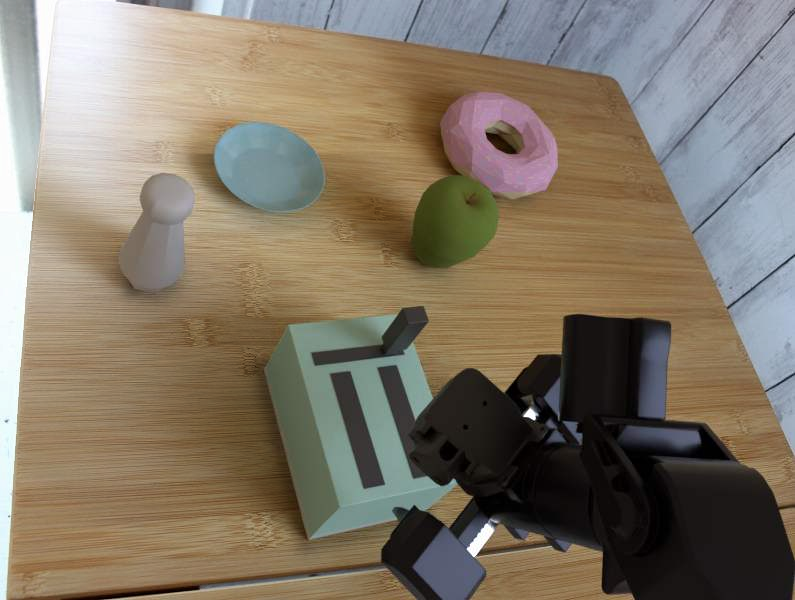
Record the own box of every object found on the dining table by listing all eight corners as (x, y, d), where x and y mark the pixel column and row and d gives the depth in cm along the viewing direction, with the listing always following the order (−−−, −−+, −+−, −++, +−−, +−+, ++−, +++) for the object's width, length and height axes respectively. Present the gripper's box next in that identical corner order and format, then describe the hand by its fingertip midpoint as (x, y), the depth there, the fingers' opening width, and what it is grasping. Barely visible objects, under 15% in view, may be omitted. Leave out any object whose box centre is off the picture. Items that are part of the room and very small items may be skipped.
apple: (417, 212, 94) (460, 145, 85) (476, 258, 94) (526, 195, 85) (378, 255, 89) (419, 188, 80) (440, 304, 88) (489, 243, 79)
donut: (525, 228, 99) (546, 203, 95) (416, 160, 98) (432, 132, 94) (558, 153, 109) (578, 127, 105) (458, 91, 108) (475, 63, 104)
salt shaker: (109, 252, 77) (125, 162, 67) (171, 245, 80) (194, 157, 70) (125, 306, 75) (143, 221, 65) (187, 296, 78) (214, 214, 67)
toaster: (422, 514, 75) (463, 481, 68) (307, 540, 70) (339, 507, 63) (371, 355, 82) (404, 311, 75) (263, 369, 77) (287, 323, 70)
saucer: (338, 181, 92) (345, 168, 90) (279, 243, 85) (285, 230, 83) (252, 119, 92) (257, 104, 90) (186, 175, 85) (190, 161, 83)
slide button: (401, 356, 72) (429, 321, 68) (381, 358, 71) (408, 323, 67) (396, 340, 73) (424, 305, 68) (376, 343, 72) (402, 307, 67)
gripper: (581, 287, 51) (445, 304, 65) (388, 524, 43) (281, 487, 57) (676, 415, 54) (527, 406, 68) (511, 657, 47) (382, 592, 60)
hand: (435, 466), depth 63 cm, fingers open, 9 cm apart
